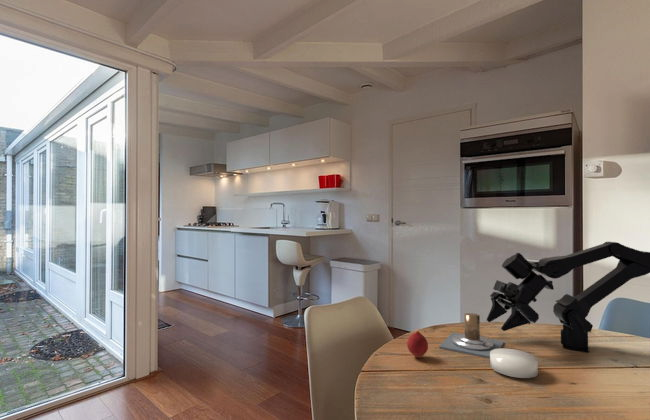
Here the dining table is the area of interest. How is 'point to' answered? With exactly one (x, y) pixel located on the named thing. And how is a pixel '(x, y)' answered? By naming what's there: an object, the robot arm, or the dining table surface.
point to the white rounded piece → (514, 363)
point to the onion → (417, 344)
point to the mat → (450, 346)
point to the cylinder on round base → (472, 335)
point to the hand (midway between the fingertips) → (494, 325)
